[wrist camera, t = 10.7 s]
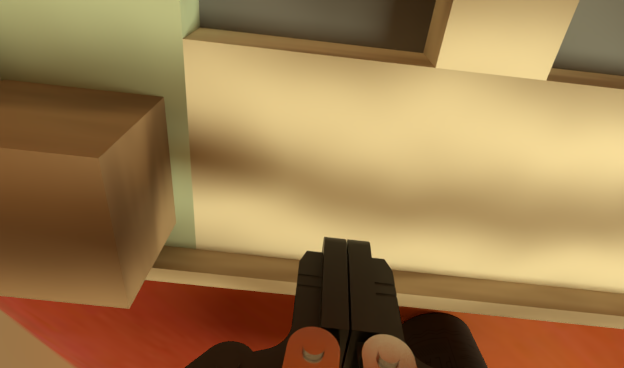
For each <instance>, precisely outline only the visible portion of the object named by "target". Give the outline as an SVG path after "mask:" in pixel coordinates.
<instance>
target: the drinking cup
mask: <svg viewBox="0 0 624 368" xmlns="http://www.w3.org/2000/svg"><path fill="white" fill-rule="evenodd" d="M402 329H403V335H404V340H405V343H406V345H407V346H408V347H409V348H410V349H411V351H412V353H413V355H414V356H415V357H416V358H417V359H419V360H420V361H421V362H423V363H425V364H426V365H428V366H430V367H433V368H488V367H487V365H486V363H485V361H484V359H483V357H482V355H481V353H480V351H479V349H478V346H477V344H476V342H475V340H474V338H473V336H472V334H471V332H470V330H469V328H468V326H467V325H466V324H465V323H464V322H463V321H462V320H460V319H459V318H457V317H454V316H451V315H447V314H441V313H431V314H424V315H420V316H417V317H414V318H412V319H410V320H408V321H406V322H405V323H404V324H402Z"/></svg>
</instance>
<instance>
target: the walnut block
mask: <svg viewBox="0 0 624 368" xmlns="http://www.w3.org/2000/svg"><path fill="white" fill-rule="evenodd" d="M175 224H176V215H175V205H174V194H173V184H172V174H171V164H170V153H169V143H168V133H167V122H166V112H165V102H164V97H158V96H149V95H140V94H131V93H122V92H113V91H104V90H95V89H86V88H77V87H68V86H59V85H50V84H41V83H32V82H23V81H14V80H2V81H0V296H8V297H17V298H27V299H37V300H47V301H57V302H67V303H77V304H87V305H97V306H107V307H117V308H127V309H129V308H130V306H131V304H132V303H133V301H134V299H135V297H136V295H137V293H138V292H139V290H140V288H141V286H142V284H143V283H144V281H145V279H146V277H147V275H148V273H149V272H150V270H151V268H152V266H153V264H154V262H155V261H156V259H157V257H158V255H159V253H160V252H161V250H162V248H163V246H164V244H165V242H166V241H167V239H168V237H169V235H170V233H171V232H172V230H173V228H174V226H175Z"/></svg>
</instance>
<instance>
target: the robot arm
mask: <svg viewBox="0 0 624 368" xmlns="http://www.w3.org/2000/svg"><path fill="white" fill-rule="evenodd" d="M396 296H397V294H396V288H395V282H394V276H393V271H392V270H391V268H390V267H389V265H388V264H387V262H386V261H385V259H379V258H372V255H371V246H370V242H368V241H359V240H350V239H347V242H346V239H340V238H331V237H324V240H323V247H322V252H315V251H306V253H305V254H304V255H303V257H302V258H301V259H300V261H299V268H298V277H297V286H296V294H295V303H294V312H293V320H292V327H291V331H290V333H289V335H288V336H287V337H286V339H285V340H284V341H282V342H281V343H280V344H278V345H277V346H274V347H272V348H269V349H265V350H260V351H255V352H253V351H252V350H251V349H250V348H249V347H247V346H246V345H244V344H242V343H239V342H234V341H228V342H222V343H219V344H217V345H215V346H213V347H212V348H210V349H209V350H207V351H206V352H205V353H203V354H202V355H201V356H199V357H198V358H197V359H195V360H194V361H193V362H191V363H190V364H189V365H188V366H186V367H185V368H433V367H430V366H428V365H426V364H425V363H423V362H421V361H420V360H419V359H417V358H416V357H415V356H414V355H413V353H412V351H411V349H410V348H409V347H408V346H407V345H406V343H405V340H404V335H403V329H402V323H401V317H400V312H399V306H398V300H397V297H396Z"/></svg>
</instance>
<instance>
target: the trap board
mask: <svg viewBox="0 0 624 368" xmlns="http://www.w3.org/2000/svg"><path fill="white" fill-rule="evenodd" d="M2 80H14V81H23V82H32V83H41V84H50V85H59V86H68V87H77V88H86V89H95V90H104V91H113V92H122V93H131V94H140V95H149V96H158V97H164V102H165V112H166V122H167V133H168V143H169V153H170V164H171V174H172V184H173V194H174V205H175V215H176V224H175V226H174V228H173V230H172V232H171V233H170V235H169V237H168V239H167V241H166V242H165V244H164V246H163V248H162V250H161V252H160V253H159V255H158V257H157V259H156V261H155V262H154V264H153V266H152V268H151V270H150V272H149V273H148V275H147V277H146V279H145V280H152V281H161V282H171V283H181V284H191V285H200V286H210V287H220V288H230V289H239V290H249V291H259V292H268V293H278V294H288V295H295V294H296V286H297V277H298V268H299V261H300V259H301V258H302V257H303V255H304V254H305V253H306V251H315V252H322V247H323V240H324V237H331V238H340V239H346V242H347V239H350V240H359V241H368V242H370V246H371V255H372V258H379V259H385V261H386V262H387V264H388V265H389V267H390V268H391V270H392V271H393V276H394V282H395V288H396V294H397V296H396V297H397V300H398V306H405V307H414V308H424V309H434V310H444V311H453V312H463V313H473V314H483V315H492V316H502V317H512V318H522V319H531V320H541V321H551V322H560V323H570V324H580V325H590V326H599V327H609V328H619V329H624V0H0V81H2Z"/></svg>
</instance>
